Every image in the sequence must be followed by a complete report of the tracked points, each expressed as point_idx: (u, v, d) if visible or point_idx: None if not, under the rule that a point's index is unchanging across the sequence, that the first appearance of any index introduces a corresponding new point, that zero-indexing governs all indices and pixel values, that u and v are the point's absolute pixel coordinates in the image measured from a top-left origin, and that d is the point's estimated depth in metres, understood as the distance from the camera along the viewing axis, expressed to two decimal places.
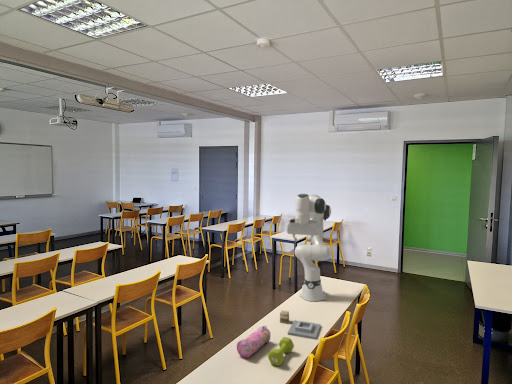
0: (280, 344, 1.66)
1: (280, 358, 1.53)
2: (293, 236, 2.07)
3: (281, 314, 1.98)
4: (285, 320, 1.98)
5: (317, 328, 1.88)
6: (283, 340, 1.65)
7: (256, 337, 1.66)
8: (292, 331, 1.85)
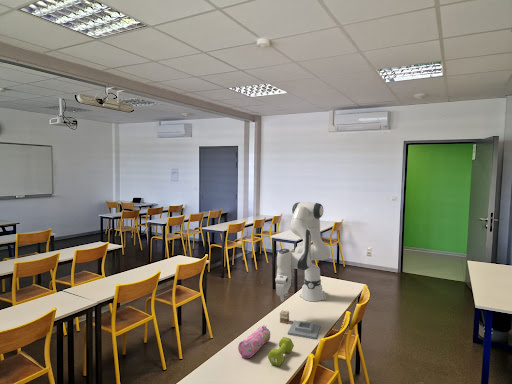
0: (280, 344, 1.66)
1: (280, 358, 1.53)
2: None
3: (281, 314, 1.98)
4: (285, 320, 1.98)
5: (317, 328, 1.88)
6: (283, 340, 1.65)
7: (257, 337, 1.66)
8: (292, 331, 1.85)
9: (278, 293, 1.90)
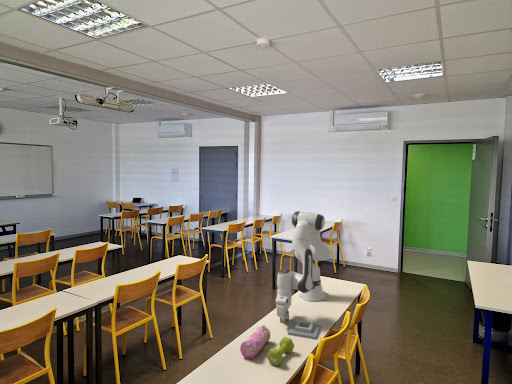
0: (280, 344, 1.66)
1: (279, 358, 1.53)
2: (284, 316, 1.96)
3: None
4: (285, 320, 1.98)
5: (317, 328, 1.88)
6: (283, 340, 1.65)
7: (258, 337, 1.66)
8: (292, 331, 1.85)
9: (278, 314, 1.91)
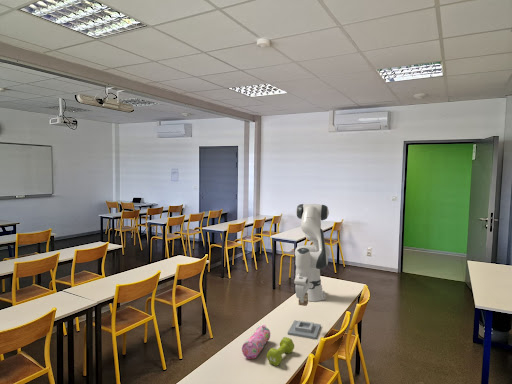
0: (280, 344, 1.66)
1: (278, 358, 1.53)
2: (303, 298, 1.83)
3: None
4: (304, 302, 1.85)
5: (317, 328, 1.88)
6: (283, 340, 1.65)
7: (259, 337, 1.66)
8: (292, 331, 1.85)
9: (298, 295, 1.78)
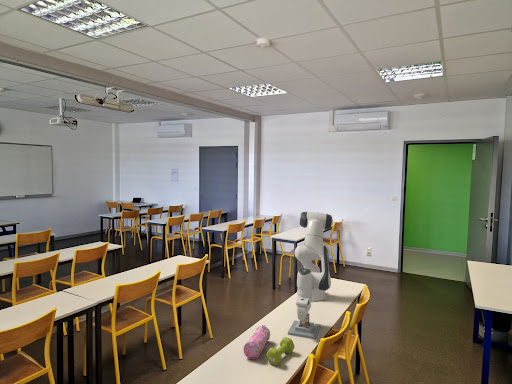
0: (281, 344, 1.66)
1: (277, 358, 1.53)
2: (304, 319, 1.84)
3: None
4: (306, 323, 1.86)
5: (317, 328, 1.88)
6: (284, 340, 1.65)
7: (260, 337, 1.66)
8: (292, 331, 1.85)
9: (299, 317, 1.79)
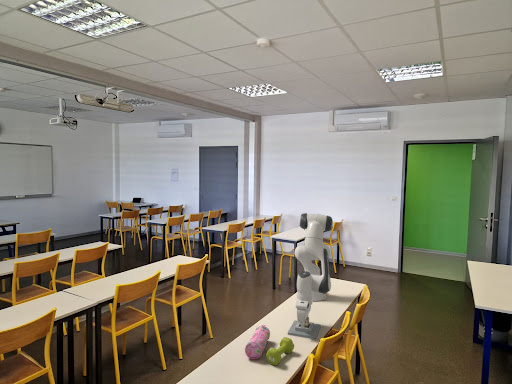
0: (280, 344, 1.66)
1: (277, 358, 1.53)
2: None
3: None
4: (305, 327, 1.86)
5: (317, 328, 1.88)
6: (283, 340, 1.65)
7: (261, 337, 1.66)
8: (292, 331, 1.85)
9: (299, 320, 1.79)
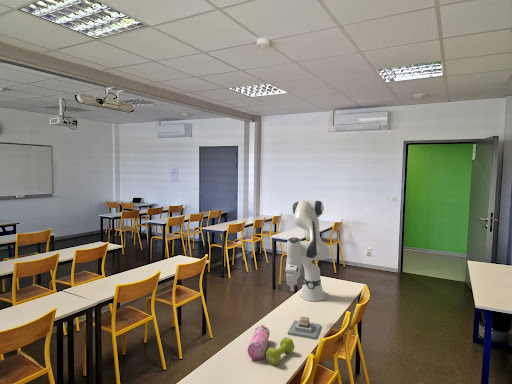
0: (281, 344, 1.66)
1: (276, 357, 1.53)
2: None
3: (301, 320, 1.87)
4: (305, 327, 1.86)
5: (317, 328, 1.88)
6: (284, 340, 1.65)
7: (263, 337, 1.67)
8: (292, 331, 1.85)
9: (288, 283, 1.85)
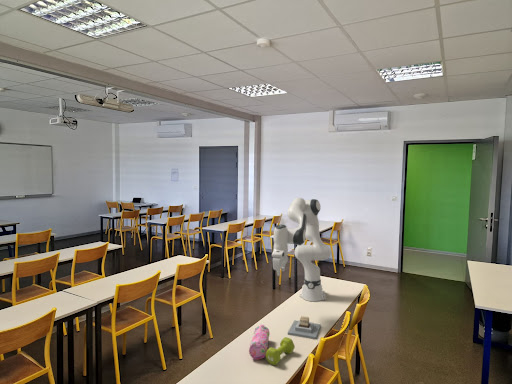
0: (281, 344, 1.66)
1: (276, 357, 1.53)
2: (279, 271, 1.96)
3: (301, 320, 1.87)
4: (305, 327, 1.86)
5: (317, 328, 1.88)
6: (284, 340, 1.65)
7: (263, 337, 1.67)
8: (292, 331, 1.85)
9: (274, 267, 1.93)
